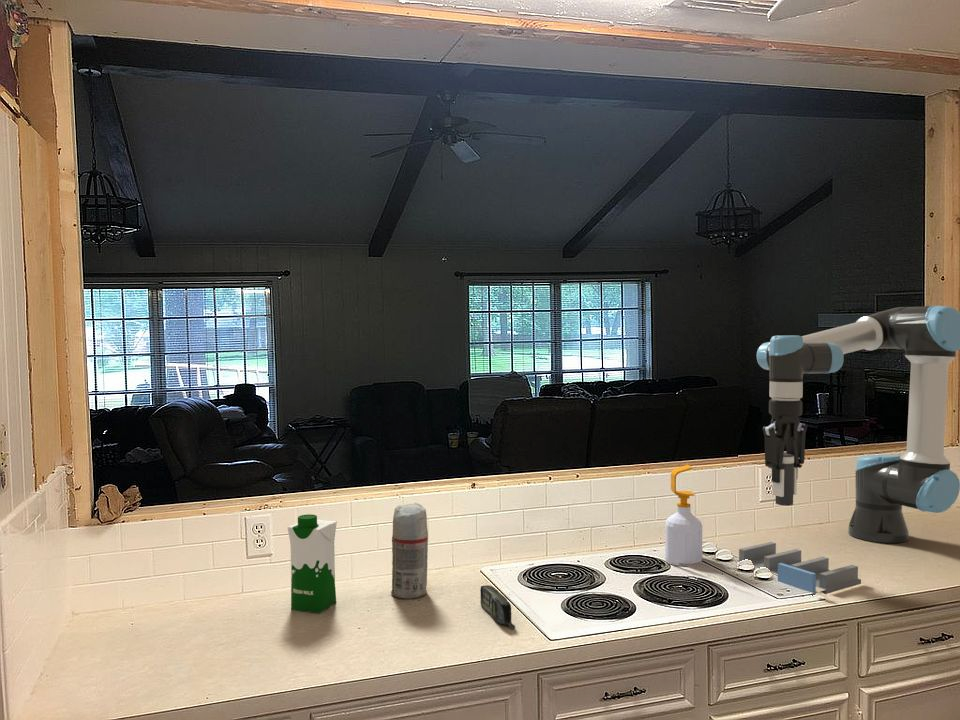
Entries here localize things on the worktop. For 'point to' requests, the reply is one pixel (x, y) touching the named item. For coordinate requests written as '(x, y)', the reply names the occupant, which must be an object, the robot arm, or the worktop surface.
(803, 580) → the blue rectangular block
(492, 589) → the mobile phone
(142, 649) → the worktop surface
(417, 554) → the spray can
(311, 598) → the milk carton
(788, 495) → the grey banded cylinder
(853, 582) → the grey slotted rack
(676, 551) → the soap bottle
